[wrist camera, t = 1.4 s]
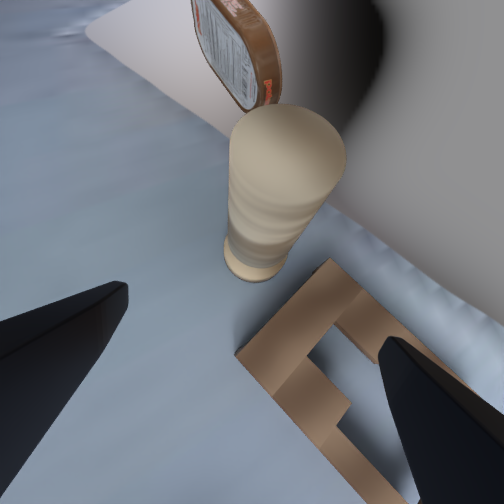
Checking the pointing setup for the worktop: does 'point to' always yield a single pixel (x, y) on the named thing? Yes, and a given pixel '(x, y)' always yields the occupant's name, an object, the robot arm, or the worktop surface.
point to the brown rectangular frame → (311, 377)
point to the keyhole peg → (277, 184)
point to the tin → (239, 50)
